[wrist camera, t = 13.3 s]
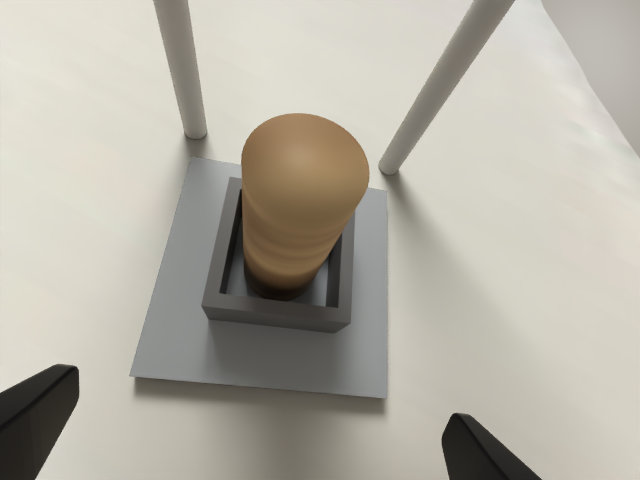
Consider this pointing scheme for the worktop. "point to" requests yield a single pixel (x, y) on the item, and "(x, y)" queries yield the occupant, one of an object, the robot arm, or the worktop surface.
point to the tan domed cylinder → (296, 200)
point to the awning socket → (228, 264)
